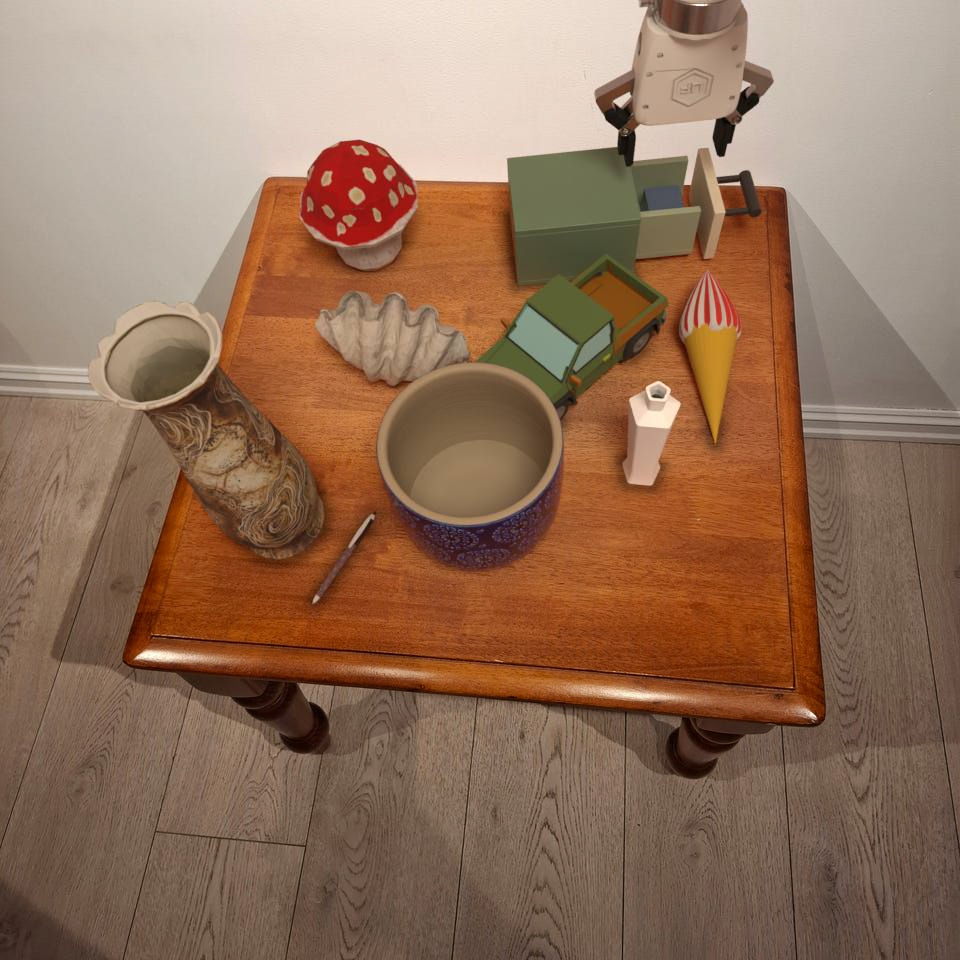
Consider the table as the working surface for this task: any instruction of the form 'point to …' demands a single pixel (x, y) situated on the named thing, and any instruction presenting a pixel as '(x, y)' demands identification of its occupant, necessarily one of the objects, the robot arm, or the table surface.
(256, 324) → the table surface
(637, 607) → the table surface
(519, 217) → the cabinet
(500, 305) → the table surface
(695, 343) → the ice cream cone
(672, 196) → the block
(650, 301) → the toy truck
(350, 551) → the pen
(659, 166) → the drawer
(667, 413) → the perfume bottle
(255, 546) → the vase
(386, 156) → the decorative mushroom
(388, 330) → the seashell
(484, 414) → the planter
